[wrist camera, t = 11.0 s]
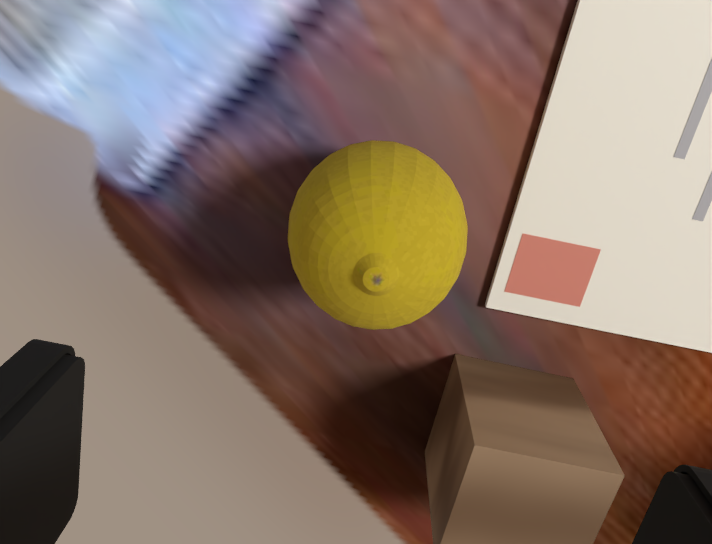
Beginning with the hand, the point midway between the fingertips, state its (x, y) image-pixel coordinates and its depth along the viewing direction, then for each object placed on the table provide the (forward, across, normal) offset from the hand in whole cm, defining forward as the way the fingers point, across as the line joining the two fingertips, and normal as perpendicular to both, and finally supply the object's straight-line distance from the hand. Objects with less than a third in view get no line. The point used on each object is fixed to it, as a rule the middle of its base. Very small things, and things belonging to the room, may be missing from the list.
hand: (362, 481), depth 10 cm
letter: (+15, -11, -5) cm, 19 cm away
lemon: (+15, 0, -1) cm, 15 cm away
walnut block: (+15, -7, +7) cm, 18 cm away
